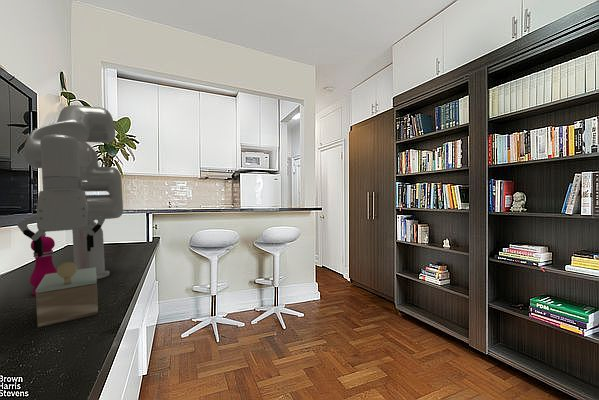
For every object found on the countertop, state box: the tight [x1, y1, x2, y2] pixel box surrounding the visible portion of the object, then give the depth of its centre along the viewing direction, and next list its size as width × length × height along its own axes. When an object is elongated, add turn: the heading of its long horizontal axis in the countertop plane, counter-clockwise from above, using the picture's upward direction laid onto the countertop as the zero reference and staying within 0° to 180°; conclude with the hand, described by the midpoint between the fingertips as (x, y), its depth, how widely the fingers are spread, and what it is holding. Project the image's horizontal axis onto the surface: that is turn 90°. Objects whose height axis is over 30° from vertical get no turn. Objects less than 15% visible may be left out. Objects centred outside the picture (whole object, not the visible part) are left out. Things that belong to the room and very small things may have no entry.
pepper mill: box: [29, 232, 57, 297], centre depth 98 cm, size 7×7×20 cm
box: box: [35, 276, 99, 328], centre depth 82 cm, size 18×12×8 cm, turn 35°
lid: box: [36, 261, 98, 293], centre depth 82 cm, size 18×12×6 cm, turn 35°
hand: (65, 253), depth 75 cm, fingers open, 9 cm apart
